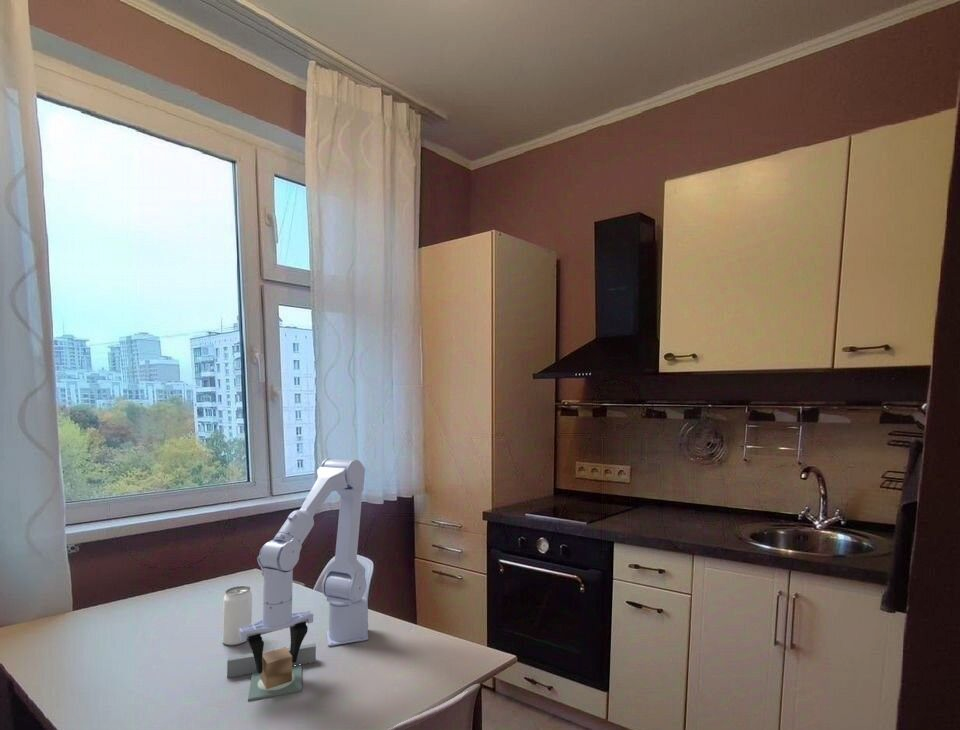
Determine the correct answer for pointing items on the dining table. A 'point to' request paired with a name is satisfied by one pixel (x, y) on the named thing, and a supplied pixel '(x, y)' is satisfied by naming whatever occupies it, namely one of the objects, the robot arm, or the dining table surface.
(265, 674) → the walnut block
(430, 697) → the dining table surface
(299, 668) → the mat
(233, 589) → the can
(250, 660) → the low wall
